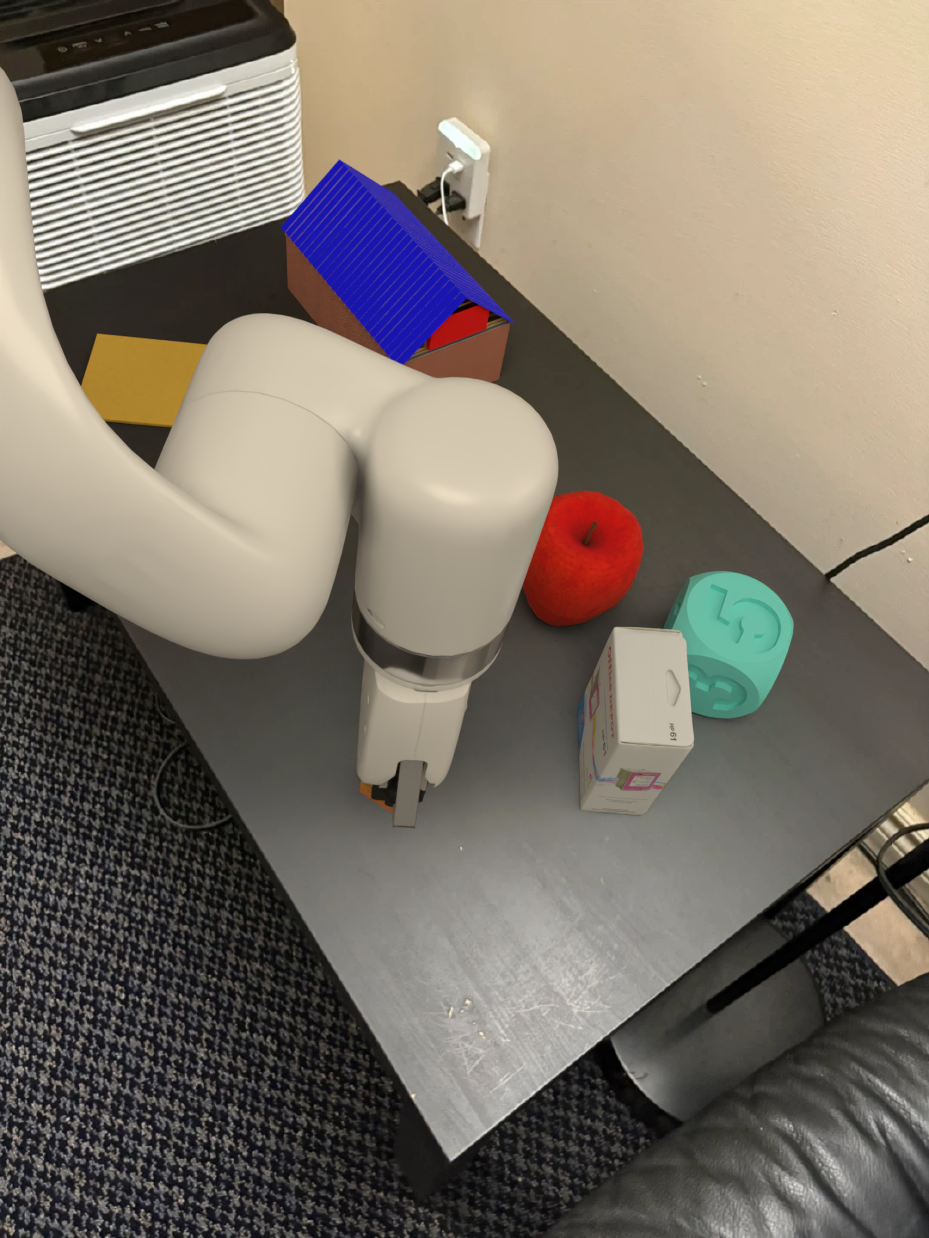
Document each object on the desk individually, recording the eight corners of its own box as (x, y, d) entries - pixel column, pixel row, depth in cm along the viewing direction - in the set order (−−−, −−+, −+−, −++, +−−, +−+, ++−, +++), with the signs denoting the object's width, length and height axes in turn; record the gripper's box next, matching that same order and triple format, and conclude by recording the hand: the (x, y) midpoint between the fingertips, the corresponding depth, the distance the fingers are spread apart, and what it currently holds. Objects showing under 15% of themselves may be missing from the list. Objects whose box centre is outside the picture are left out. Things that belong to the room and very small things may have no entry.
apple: (567, 674, 74) (601, 597, 65) (483, 604, 76) (505, 520, 67) (636, 608, 78) (677, 526, 69) (554, 543, 81) (583, 455, 71)
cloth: (72, 418, 81) (71, 416, 81) (97, 336, 87) (97, 333, 86) (242, 434, 83) (241, 431, 82) (256, 352, 88) (256, 349, 88)
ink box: (573, 703, 73) (612, 621, 63) (638, 709, 73) (688, 628, 63) (576, 812, 68) (619, 741, 58) (646, 817, 69) (700, 748, 59)
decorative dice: (667, 612, 78) (700, 554, 72) (761, 650, 77) (803, 596, 71) (639, 691, 74) (670, 637, 67) (738, 733, 73) (780, 683, 66)
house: (389, 252, 97) (396, 143, 88) (503, 380, 90) (526, 276, 80) (283, 287, 93) (278, 176, 83) (394, 425, 85) (403, 321, 75)
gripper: (364, 465, 50) (349, 642, 66) (338, 765, 41) (327, 888, 57) (506, 480, 51) (458, 651, 67) (511, 777, 42) (454, 895, 58)
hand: (398, 759), depth 62 cm, fingers closed on supplement box, 4 cm apart
